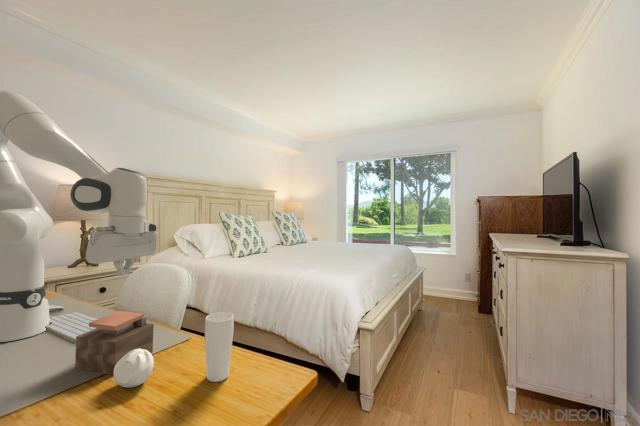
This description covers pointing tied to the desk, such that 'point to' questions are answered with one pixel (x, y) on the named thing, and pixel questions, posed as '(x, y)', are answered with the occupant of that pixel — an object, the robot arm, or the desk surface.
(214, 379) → the drinking glass
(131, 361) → the white ridged ball
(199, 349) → the desk surface
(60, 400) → the desk surface
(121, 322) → the panel
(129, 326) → the steel peg
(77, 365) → the block
